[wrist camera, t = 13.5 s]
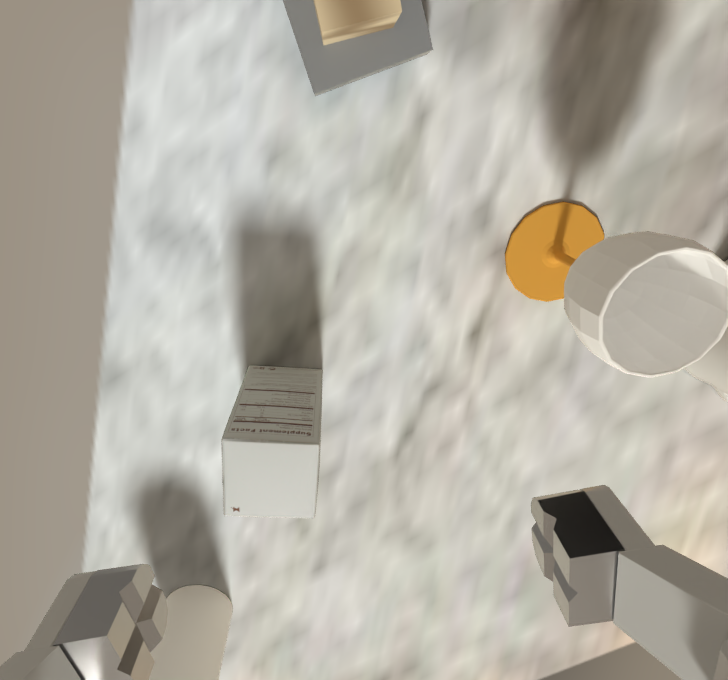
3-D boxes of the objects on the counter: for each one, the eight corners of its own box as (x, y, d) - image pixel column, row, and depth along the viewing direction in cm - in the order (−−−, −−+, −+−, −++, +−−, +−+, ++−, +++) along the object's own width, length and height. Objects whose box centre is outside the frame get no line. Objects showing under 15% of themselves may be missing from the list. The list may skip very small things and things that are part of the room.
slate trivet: (391, -87, 33) (396, -107, 30) (425, 55, 37) (432, 49, 34) (270, -39, 34) (264, -54, 31) (315, 96, 37) (314, 93, 35)
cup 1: (219, 578, 57) (179, 733, 42) (242, 623, 60) (212, 781, 45) (153, 593, 57) (90, 752, 42) (179, 636, 60) (130, 798, 46)
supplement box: (320, 430, 49) (315, 522, 38) (247, 426, 49) (219, 519, 37) (325, 367, 46) (322, 445, 35) (247, 361, 46) (218, 439, 34)
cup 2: (613, 201, 42) (766, 239, 27) (592, 300, 45) (717, 381, 30) (511, 201, 41) (609, 240, 26) (498, 301, 45) (579, 384, 30)
